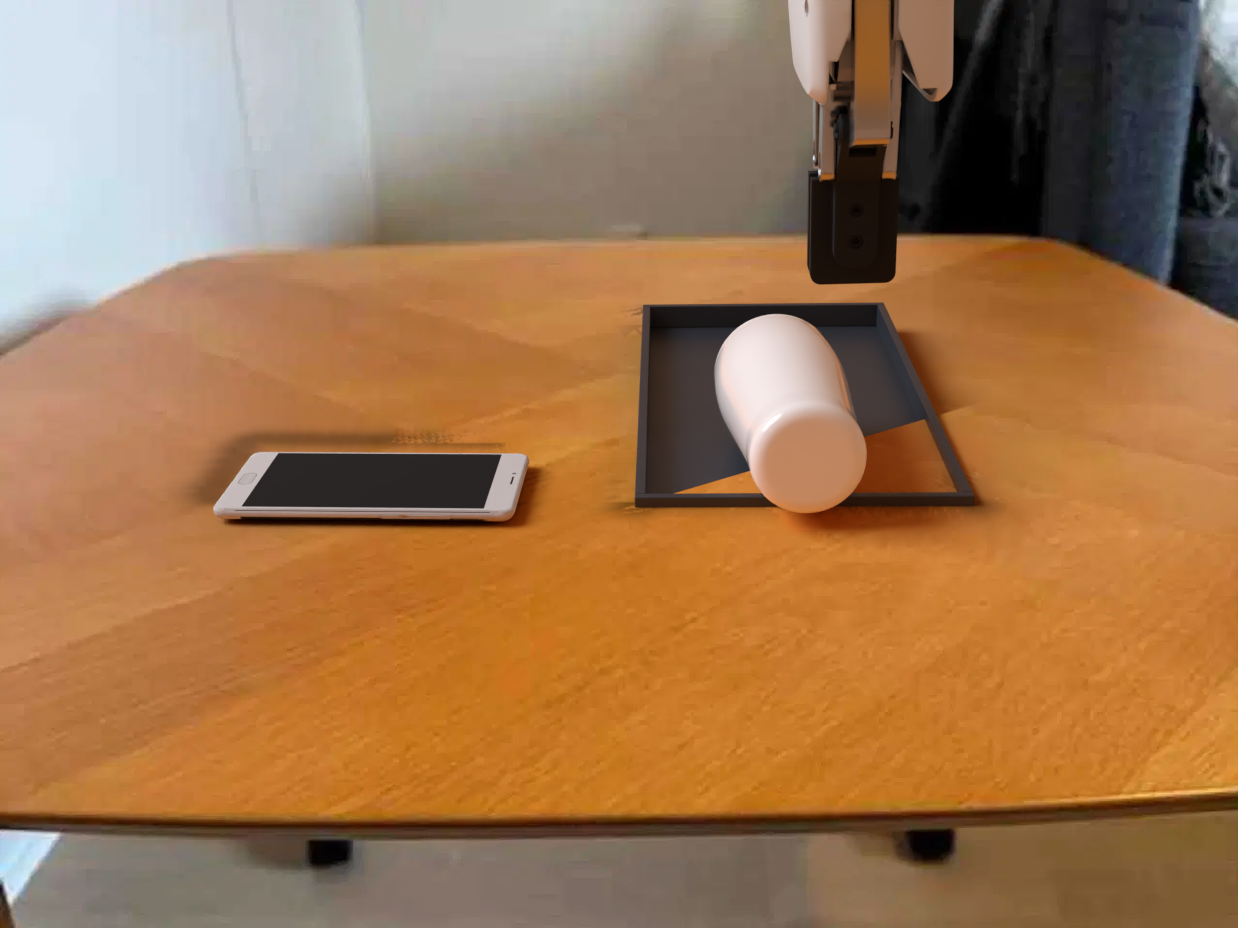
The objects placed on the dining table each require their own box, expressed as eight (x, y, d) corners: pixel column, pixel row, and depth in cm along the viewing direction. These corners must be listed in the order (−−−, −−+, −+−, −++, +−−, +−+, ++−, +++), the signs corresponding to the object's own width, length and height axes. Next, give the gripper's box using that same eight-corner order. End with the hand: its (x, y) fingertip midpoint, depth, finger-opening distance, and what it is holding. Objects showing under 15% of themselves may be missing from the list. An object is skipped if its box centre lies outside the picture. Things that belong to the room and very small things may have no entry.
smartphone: (252, 450, 79) (530, 452, 78) (254, 461, 79) (530, 463, 78) (209, 509, 72) (513, 512, 71) (210, 521, 72) (513, 524, 71)
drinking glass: (745, 543, 67) (721, 440, 81) (892, 520, 66) (843, 421, 81) (724, 402, 65) (704, 322, 79) (877, 378, 64) (829, 302, 78)
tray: (971, 534, 70) (974, 495, 69) (635, 535, 70) (634, 497, 69) (882, 330, 98) (883, 302, 97) (643, 332, 99) (642, 304, 98)
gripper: (1027, -274, 42) (987, 338, 49) (940, -250, 55) (919, 226, 63) (762, -262, 42) (762, 343, 49) (741, -241, 56) (743, 231, 63)
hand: (850, 276), depth 56 cm, fingers closed
